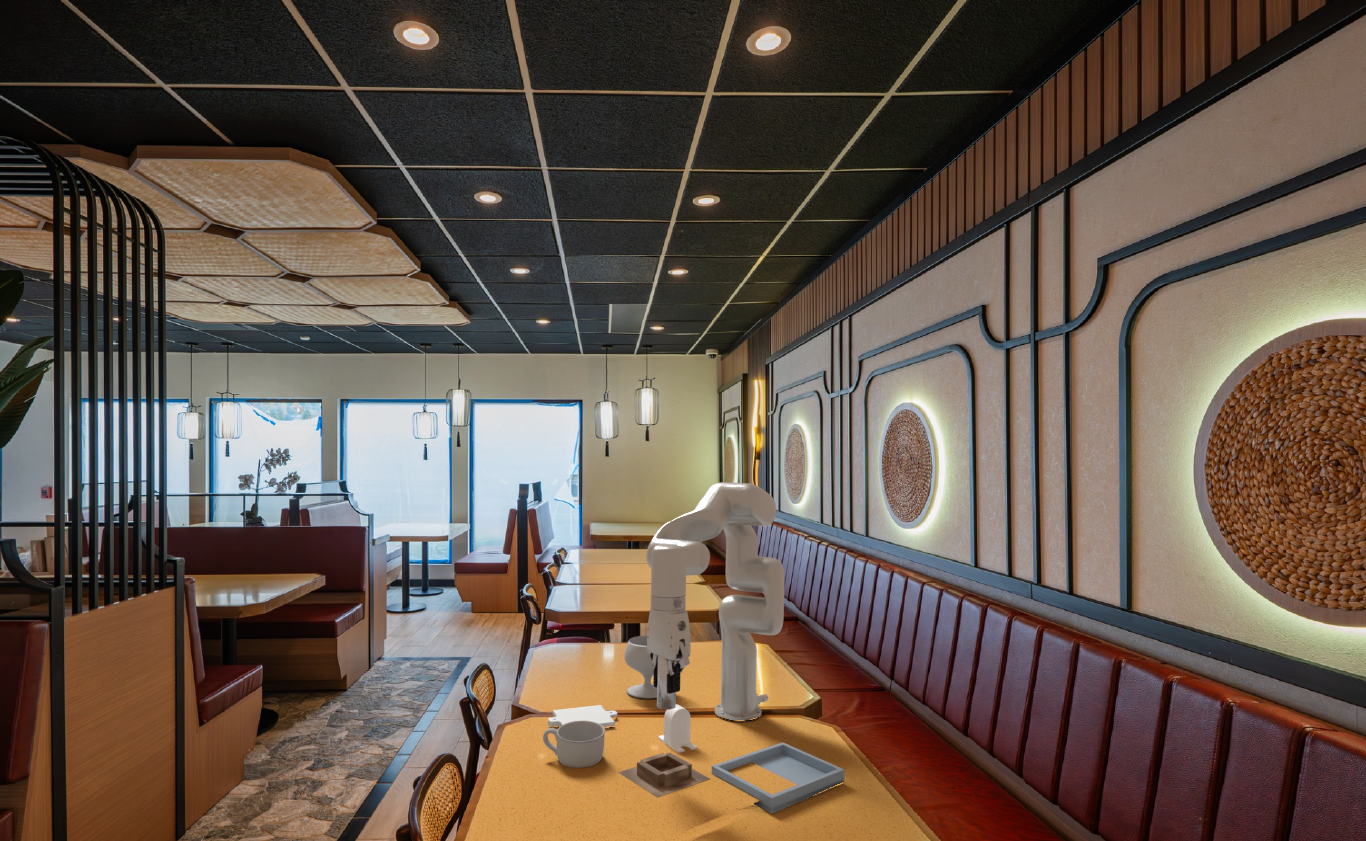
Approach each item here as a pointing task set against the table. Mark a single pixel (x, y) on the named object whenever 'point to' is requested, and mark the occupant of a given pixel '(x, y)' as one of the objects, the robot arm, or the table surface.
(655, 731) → the table surface
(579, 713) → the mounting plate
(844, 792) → the table surface
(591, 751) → the teacup
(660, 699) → the pin
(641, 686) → the chalice
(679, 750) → the cable organizer
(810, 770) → the tray
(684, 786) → the brown square socket base
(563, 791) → the table surface
